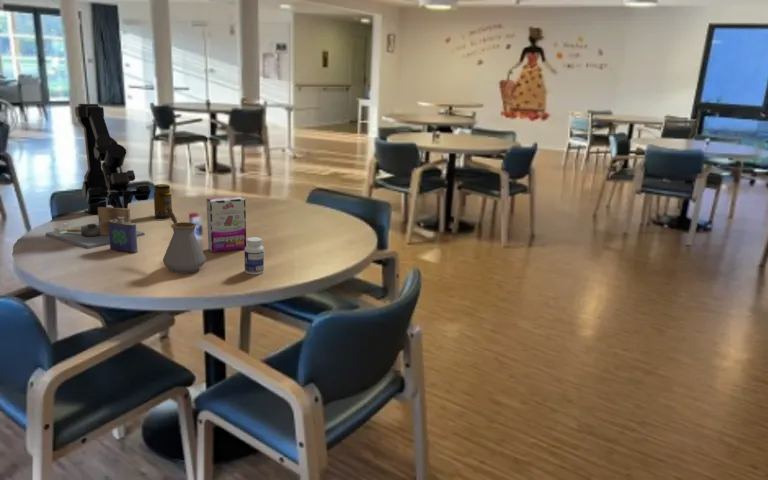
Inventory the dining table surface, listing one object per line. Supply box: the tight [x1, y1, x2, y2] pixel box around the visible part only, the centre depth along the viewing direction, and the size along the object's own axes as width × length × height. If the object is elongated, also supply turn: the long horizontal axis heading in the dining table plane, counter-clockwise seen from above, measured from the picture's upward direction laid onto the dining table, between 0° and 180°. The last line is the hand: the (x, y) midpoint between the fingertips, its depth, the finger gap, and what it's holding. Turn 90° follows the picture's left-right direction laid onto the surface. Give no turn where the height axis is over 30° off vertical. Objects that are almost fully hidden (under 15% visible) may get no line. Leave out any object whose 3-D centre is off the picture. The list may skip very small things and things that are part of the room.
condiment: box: [150, 183, 178, 221], centre depth 215 cm, size 7×8×12 cm
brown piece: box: [67, 206, 131, 236], centre depth 186 cm, size 20×6×9 cm, turn 88°
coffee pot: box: [162, 206, 207, 274], centre depth 166 cm, size 21×12×15 cm, turn 34°
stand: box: [45, 221, 145, 249], centre depth 189 cm, size 22×20×3 cm
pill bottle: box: [244, 236, 265, 275], centre depth 164 cm, size 5×5×10 cm
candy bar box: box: [206, 196, 247, 254], centre depth 182 cm, size 11×5×16 cm, turn 122°
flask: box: [109, 217, 139, 254], centre depth 175 cm, size 9×3×11 cm, turn 74°
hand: (125, 216), depth 186 cm, fingers closed
